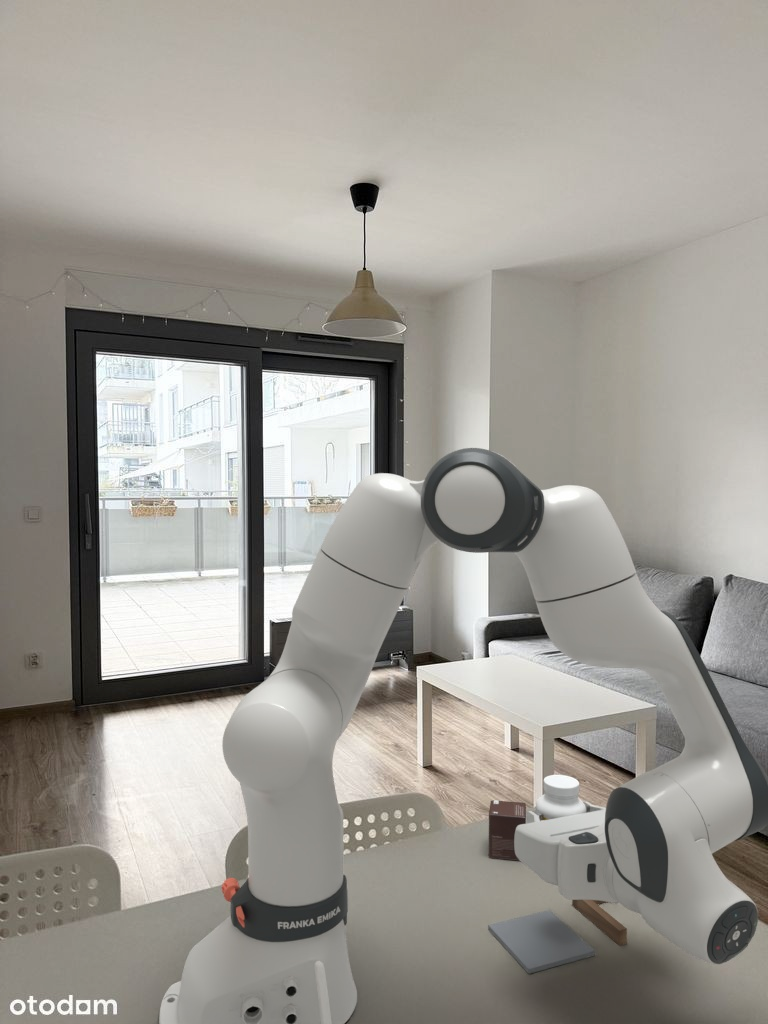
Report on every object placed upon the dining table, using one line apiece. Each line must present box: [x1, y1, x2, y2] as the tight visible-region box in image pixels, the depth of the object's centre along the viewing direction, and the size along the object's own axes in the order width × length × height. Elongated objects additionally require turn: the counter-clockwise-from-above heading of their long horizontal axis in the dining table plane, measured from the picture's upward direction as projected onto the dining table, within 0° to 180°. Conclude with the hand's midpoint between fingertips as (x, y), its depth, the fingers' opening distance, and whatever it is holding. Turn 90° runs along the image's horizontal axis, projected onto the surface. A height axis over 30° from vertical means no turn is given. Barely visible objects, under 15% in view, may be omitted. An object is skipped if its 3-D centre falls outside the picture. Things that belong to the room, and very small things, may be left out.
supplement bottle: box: [535, 774, 586, 887], centre depth 98 cm, size 7×7×13 cm
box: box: [488, 800, 527, 862], centre depth 121 cm, size 6×6×7 cm
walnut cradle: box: [571, 900, 628, 946], centre depth 103 cm, size 11×10×2 cm
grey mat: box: [487, 909, 596, 975], centre depth 97 cm, size 10×10×1 cm
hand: (556, 811), depth 99 cm, fingers closed on supplement bottle, 7 cm apart
